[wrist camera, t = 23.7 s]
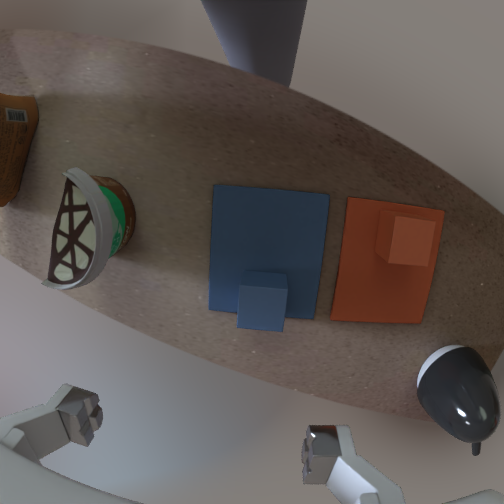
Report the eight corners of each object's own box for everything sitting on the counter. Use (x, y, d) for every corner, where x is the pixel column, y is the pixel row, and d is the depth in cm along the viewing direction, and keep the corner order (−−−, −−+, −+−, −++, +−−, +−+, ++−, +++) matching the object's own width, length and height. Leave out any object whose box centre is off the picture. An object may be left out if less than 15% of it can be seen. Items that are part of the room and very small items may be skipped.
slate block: (243, 270, 35) (239, 284, 30) (286, 273, 34) (288, 289, 30) (240, 308, 36) (236, 327, 31) (281, 312, 36) (282, 332, 31)
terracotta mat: (347, 196, 32) (348, 197, 32) (442, 210, 32) (444, 211, 31) (329, 318, 36) (330, 320, 35) (419, 321, 35) (420, 323, 35)
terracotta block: (380, 209, 32) (395, 215, 27) (417, 214, 32) (436, 221, 27) (374, 251, 33) (388, 263, 29) (410, 254, 33) (427, 266, 28)
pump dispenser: (408, 402, 39) (443, 477, 24) (407, 347, 36) (456, 424, 22) (465, 380, 38) (511, 443, 23) (470, 324, 35) (531, 384, 21)
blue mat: (214, 184, 33) (213, 184, 32) (329, 194, 33) (330, 194, 32) (209, 307, 37) (208, 310, 36) (312, 317, 36) (313, 319, 36)
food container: (129, 280, 36) (88, 315, 27) (88, 260, 36) (40, 288, 27) (159, 183, 33) (118, 190, 24) (114, 165, 33) (63, 167, 23)
